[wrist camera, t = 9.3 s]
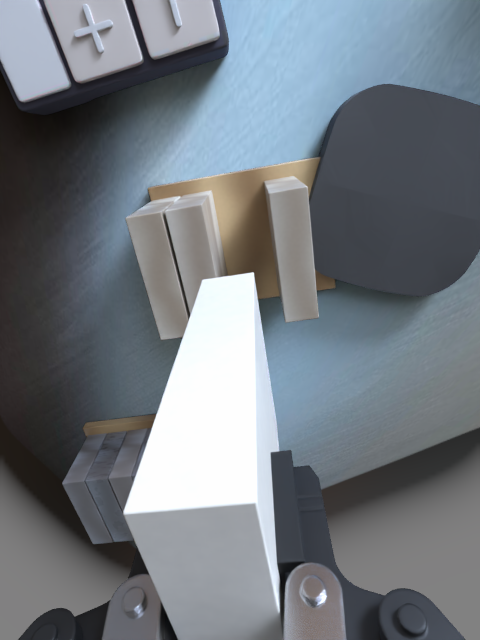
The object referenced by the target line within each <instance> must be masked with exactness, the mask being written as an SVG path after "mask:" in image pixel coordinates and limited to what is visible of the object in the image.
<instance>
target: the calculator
mask: <svg viewBox="0 0 480 640" xmlns="http://www.w3.org/2000/svg"><path fill="white" fill-rule="evenodd" d="M228 50H229V39H228V33H227V29H226V25H225V20H224V16H223V12H222V7H221V3H220V0H0V70H1V73H2V75H3V77H4V79H5V81H6V84H7V86H8V88H9V90H10V92H11V94H12V97H13V99H14V101H15V103H16V105H17V107H18V108H19V109H20V110H21V111H24V112H29V113H35V114H41V115H49V114H52V113H55V112H58V111H61V110H65V109H68V108H71V107H74V106H77V105H80V104H83V103H86V102H88V101H90V100H92V99H94V98H97V97H100V96H103V95H106V94H109V93H112V92H116V91H119V90H122V89H125V88H128V87H131V86H134V85H137V84H141V83H144V82H147V81H150V80H153V79H156V78H159V77H162V76H166V75H169V74H172V73H175V72H178V71H181V70H184V69H188V68H191V67H194V66H197V65H200V64H203V63H206V62H209V61H213V60H216V59H219V58H222V57H224V56H226V55H227V53H228Z"/></svg>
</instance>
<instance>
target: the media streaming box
mask: <svg viewBox="0 0 480 640" xmlns="http://www.w3.org/2000/svg"><path fill="white" fill-rule="evenodd" d="M319 157H321V158H320V161H319V164H318V168H317V171H316V174H315V178H314V181H313V185H312V188H311V192H310V195H309V210H310V221H311V233H312V244H313V256H314V267H315V270H317V271H318V272H319V273H321V274H322V275H324V276H327V277H330V278H333V279H336V280H340V281H343V282H346V283H350V284H354V285H357V286H361V287H366V288H370V289H374V290H379V291H384V292H390V293H395V294H402V295H409V296H418V297H419V296H427V295H431V294H434V293H437V292H439V291H441V290H443V289H445V288H447V287H449V286H450V285H452V284H453V283H454V282H456V281H457V280H458V279H459V278H460V277H461V276H462V275H463V274H464V273H465V272H466V270H467V269H468V267H469V266H470V264H471V263H472V261H473V260H474V258H475V257H476V255H477V254H478V252H479V250H480V105H477V104H474V103H471V102H467V101H464V100H461V99H457V98H454V97H450V96H446V95H442V94H438V93H434V92H430V91H425V90H421V89H416V88H410V87H405V86H399V85H393V84H382V85H377V86H373V87H371V88H368V89H366V90H363V91H361V92H359V93H357V94H355V95H353V96H352V97H350V98H349V99H348V100H346V101H345V102H344V103H343V104H342V105H341V106H340V107H339V109H338V110H337V111H336V113H335V114H334V116H333V117H332V119H331V121H330V124H329V126H328V129H327V132H326V135H325V138H324V141H323V144H322V147H321V150H320V153H319Z"/></svg>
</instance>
